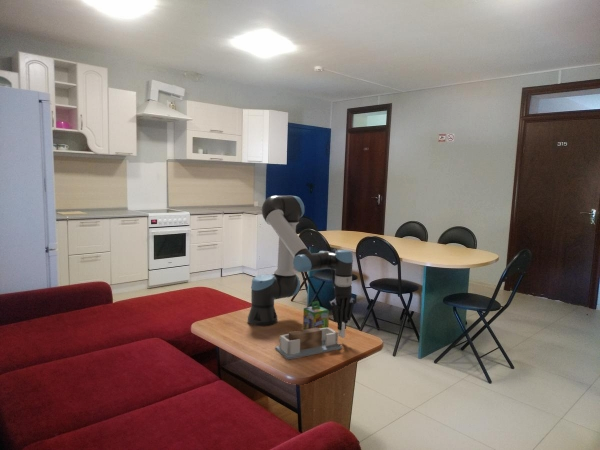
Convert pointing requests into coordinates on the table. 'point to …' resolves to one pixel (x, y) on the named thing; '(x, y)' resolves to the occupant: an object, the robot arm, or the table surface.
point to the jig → (292, 348)
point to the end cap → (329, 336)
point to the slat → (307, 337)
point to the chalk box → (315, 317)
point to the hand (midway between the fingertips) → (341, 336)
